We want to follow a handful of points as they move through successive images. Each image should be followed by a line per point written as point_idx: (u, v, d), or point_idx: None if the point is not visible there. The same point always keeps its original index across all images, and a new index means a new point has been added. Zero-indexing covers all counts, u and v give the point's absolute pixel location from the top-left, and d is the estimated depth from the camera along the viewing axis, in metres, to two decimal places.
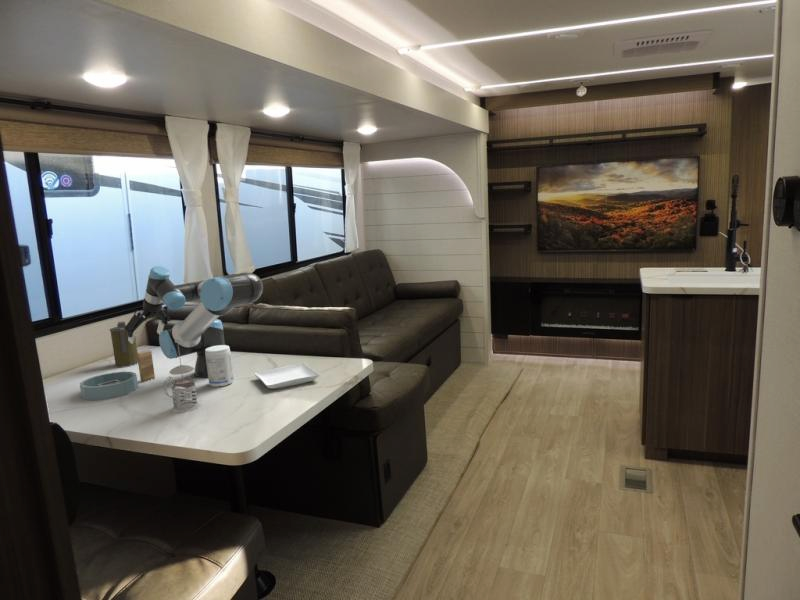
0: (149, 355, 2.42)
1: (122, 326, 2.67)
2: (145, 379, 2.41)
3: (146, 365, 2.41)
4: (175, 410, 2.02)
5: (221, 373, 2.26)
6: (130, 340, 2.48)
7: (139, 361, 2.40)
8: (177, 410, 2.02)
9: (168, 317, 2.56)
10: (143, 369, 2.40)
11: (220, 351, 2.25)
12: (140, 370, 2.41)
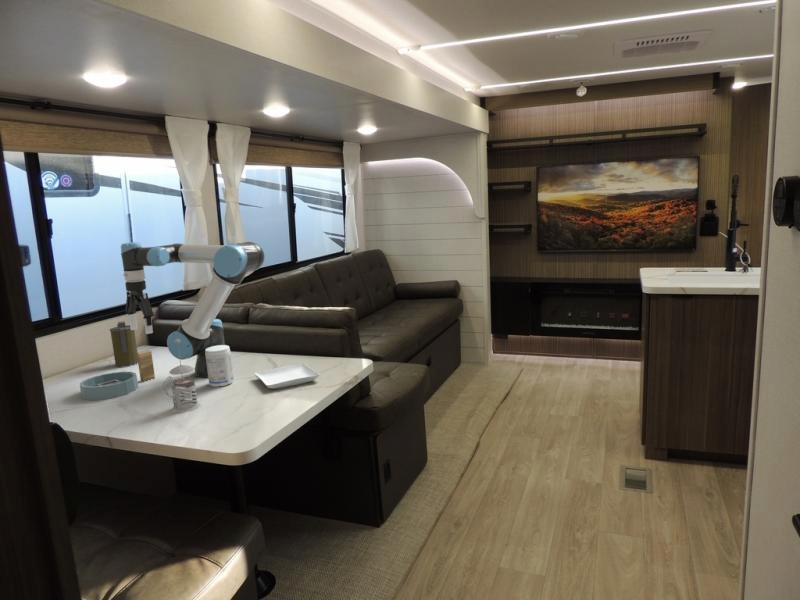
0: (149, 355, 2.42)
1: (122, 326, 2.67)
2: (145, 379, 2.41)
3: (146, 365, 2.41)
4: (175, 410, 2.02)
5: (221, 373, 2.26)
6: (150, 330, 2.36)
7: (139, 361, 2.40)
8: (177, 410, 2.02)
9: None
10: (143, 369, 2.40)
11: (220, 351, 2.25)
12: (140, 370, 2.41)
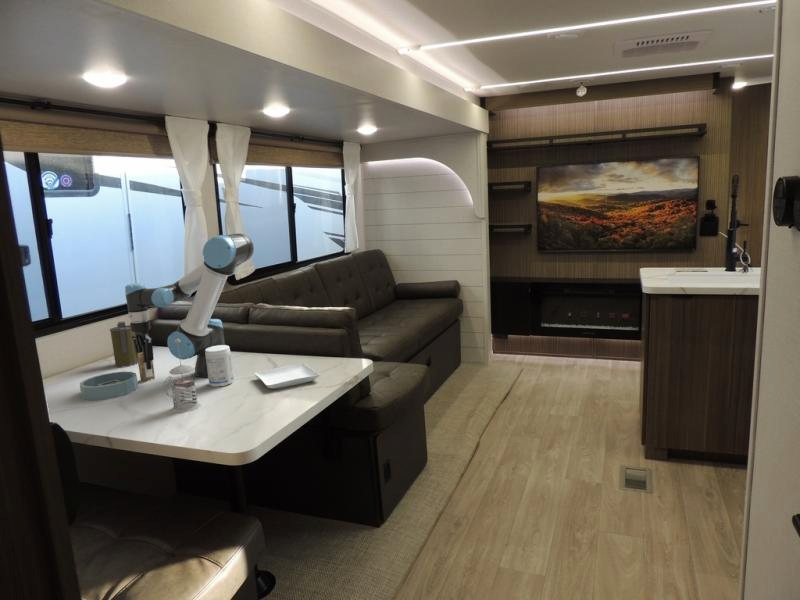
0: None
1: (122, 326, 2.67)
2: (145, 379, 2.41)
3: None
4: (175, 410, 2.02)
5: (221, 373, 2.26)
6: (150, 374, 2.42)
7: (139, 361, 2.40)
8: (177, 410, 2.02)
9: None
10: (143, 369, 2.40)
11: (220, 351, 2.25)
12: (140, 370, 2.41)
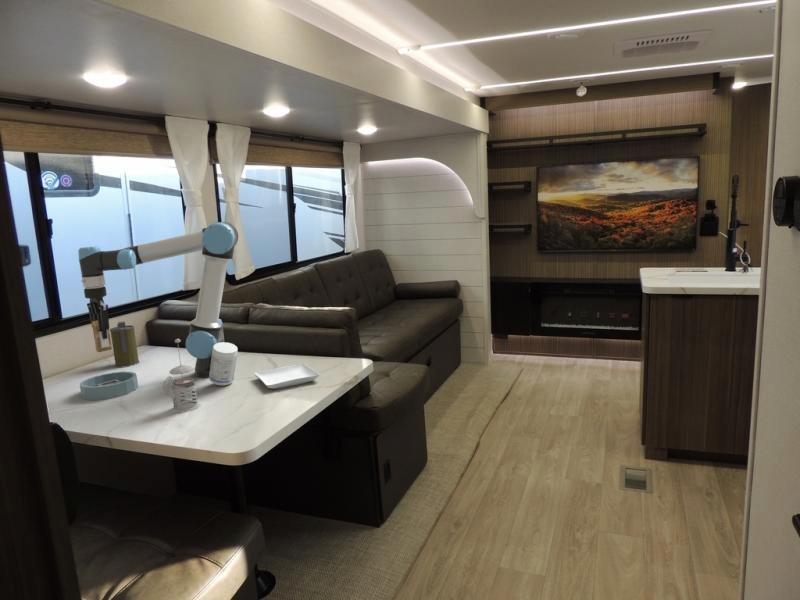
0: None
1: (122, 326, 2.67)
2: (101, 349, 2.26)
3: None
4: (175, 410, 2.02)
5: (224, 374, 2.25)
6: (106, 344, 2.26)
7: (94, 330, 2.24)
8: (177, 410, 2.02)
9: None
10: (98, 338, 2.25)
11: (229, 353, 2.23)
12: (95, 340, 2.25)
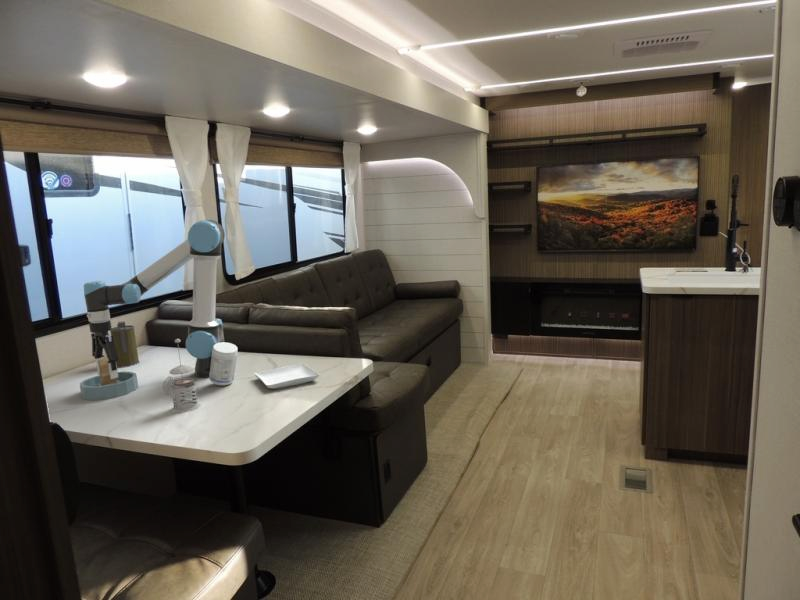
0: None
1: (122, 326, 2.67)
2: None
3: (108, 373, 2.28)
4: (175, 410, 2.02)
5: (224, 374, 2.25)
6: (115, 375, 2.26)
7: (100, 369, 2.27)
8: (177, 410, 2.02)
9: None
10: (104, 377, 2.27)
11: (229, 353, 2.23)
12: (101, 378, 2.28)
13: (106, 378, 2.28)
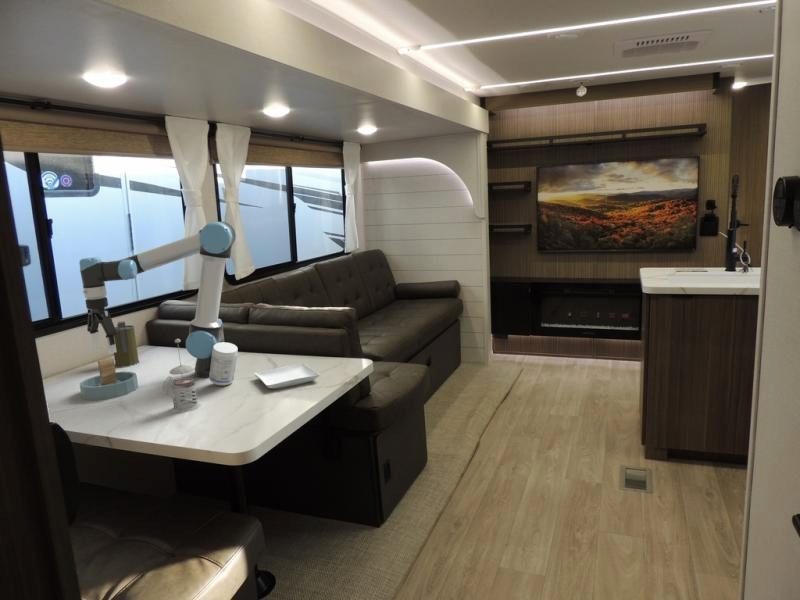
0: (111, 363, 2.29)
1: (122, 326, 2.67)
2: None
3: (108, 373, 2.28)
4: (175, 410, 2.02)
5: (224, 374, 2.25)
6: (113, 350, 2.23)
7: (100, 369, 2.27)
8: (177, 410, 2.02)
9: None
10: (104, 377, 2.27)
11: (229, 353, 2.23)
12: (101, 379, 2.28)
13: (106, 378, 2.28)
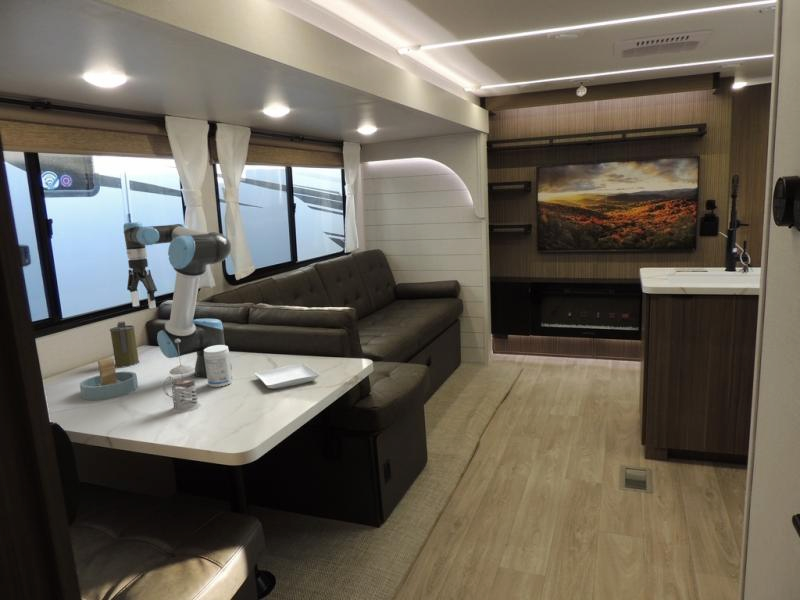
0: (111, 363, 2.29)
1: (122, 326, 2.67)
2: None
3: (108, 373, 2.28)
4: (175, 410, 2.02)
5: (222, 373, 2.26)
6: (153, 305, 2.49)
7: (100, 369, 2.27)
8: (177, 410, 2.02)
9: None
10: (104, 377, 2.27)
11: (221, 351, 2.24)
12: (101, 379, 2.28)
13: (106, 378, 2.28)
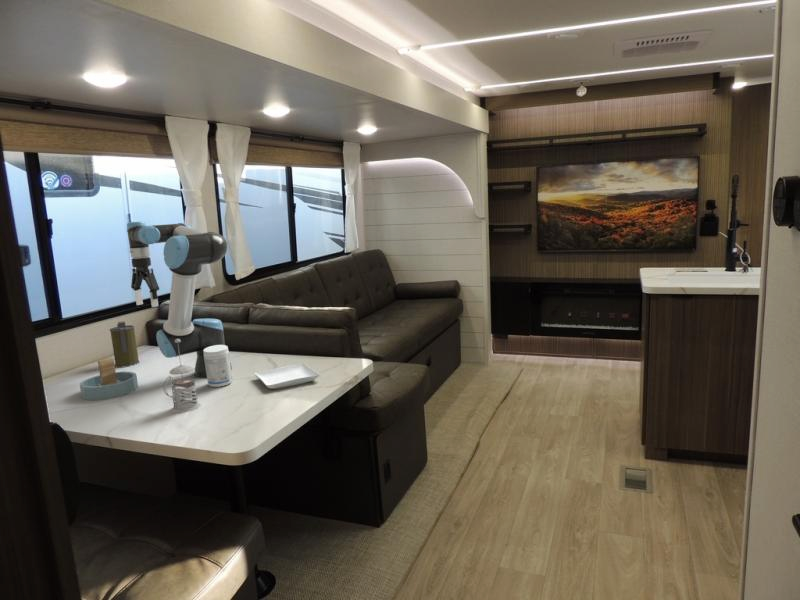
0: (111, 363, 2.29)
1: (122, 326, 2.67)
2: None
3: (108, 373, 2.28)
4: (175, 410, 2.02)
5: (222, 373, 2.26)
6: (155, 304, 2.51)
7: (100, 369, 2.27)
8: (177, 410, 2.02)
9: None
10: (104, 377, 2.27)
11: (221, 351, 2.25)
12: (101, 379, 2.28)
13: (106, 378, 2.28)
